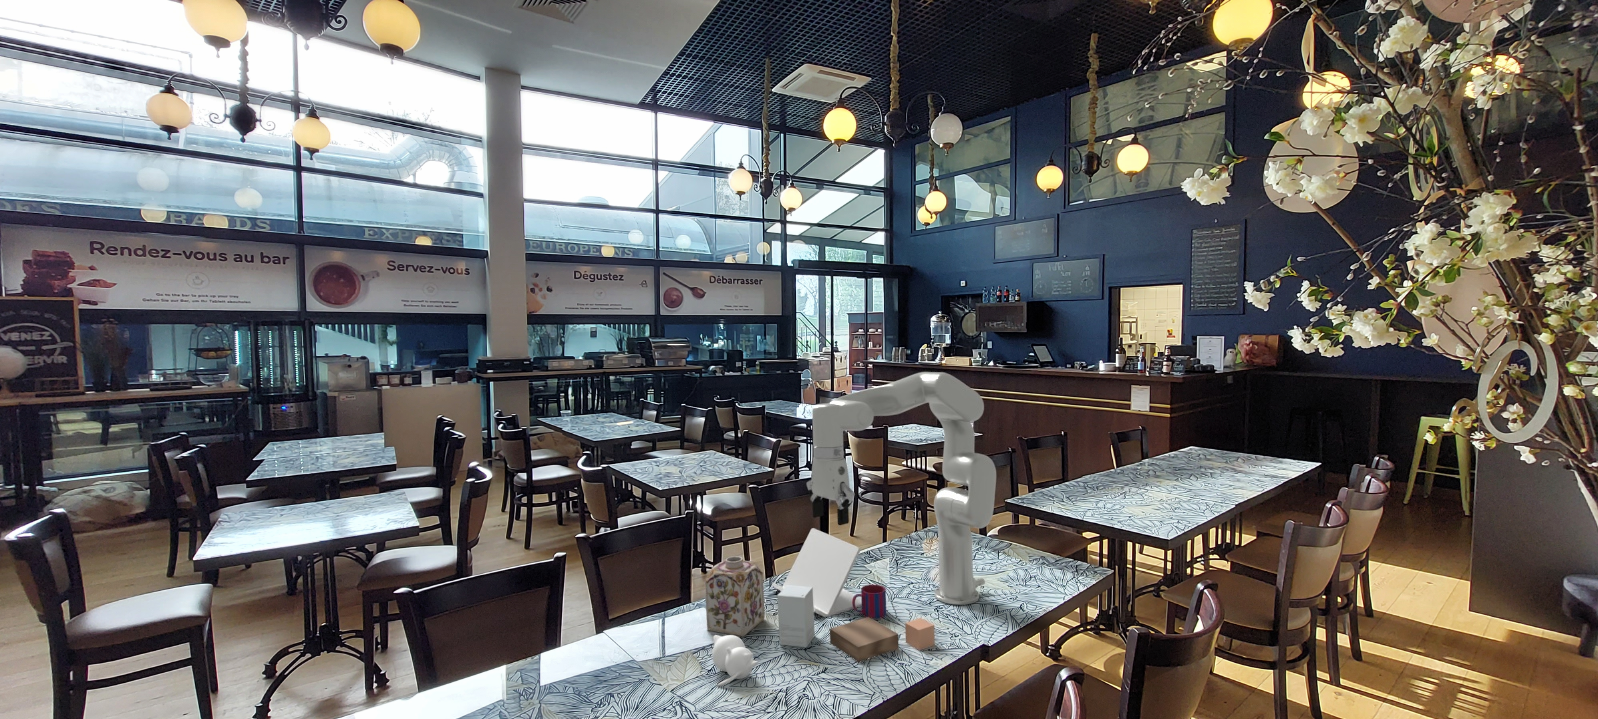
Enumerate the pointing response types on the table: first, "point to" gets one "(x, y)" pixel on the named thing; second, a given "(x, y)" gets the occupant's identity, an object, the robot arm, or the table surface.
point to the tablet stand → (825, 572)
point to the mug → (872, 601)
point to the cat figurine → (732, 657)
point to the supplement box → (796, 616)
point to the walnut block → (864, 639)
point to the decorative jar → (734, 597)
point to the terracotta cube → (920, 634)
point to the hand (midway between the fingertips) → (830, 520)
